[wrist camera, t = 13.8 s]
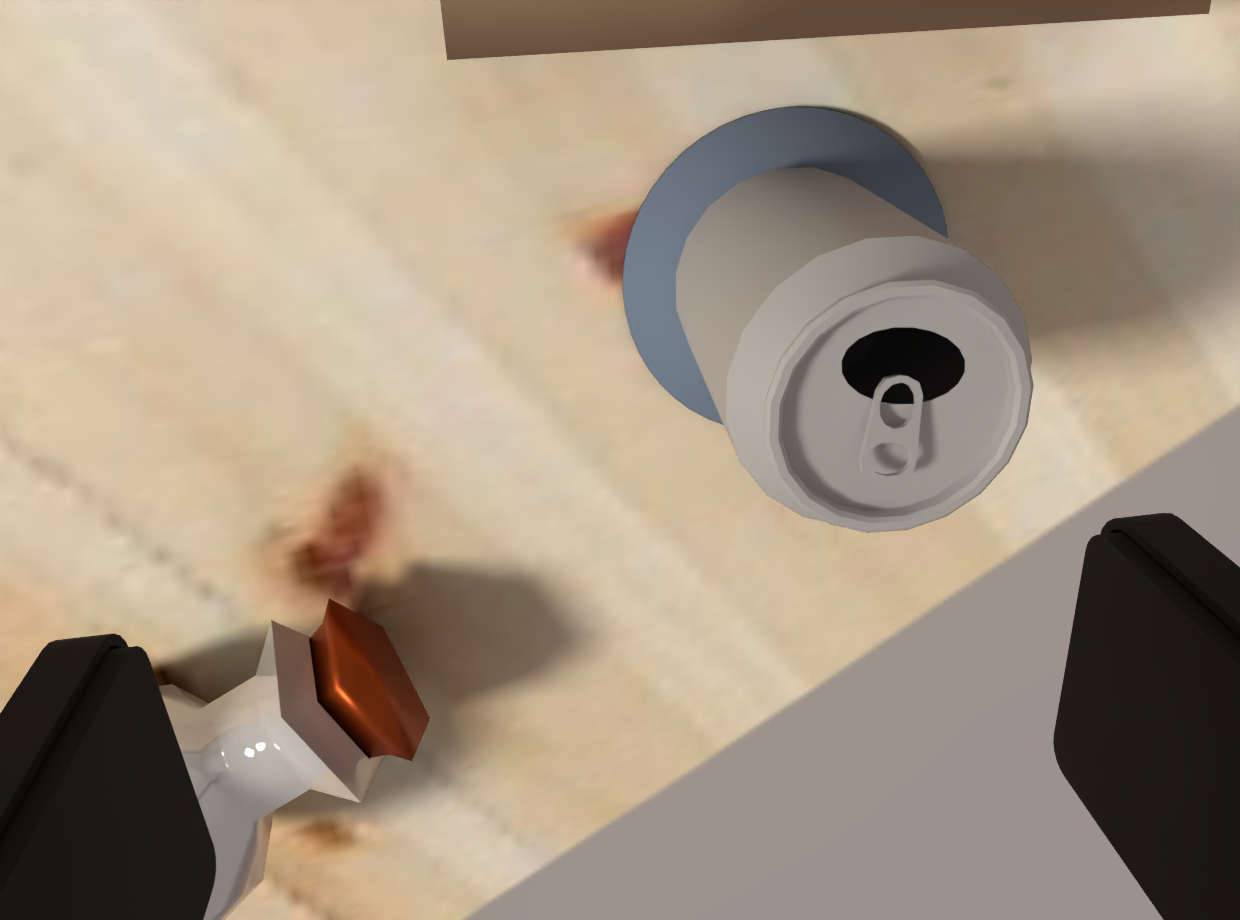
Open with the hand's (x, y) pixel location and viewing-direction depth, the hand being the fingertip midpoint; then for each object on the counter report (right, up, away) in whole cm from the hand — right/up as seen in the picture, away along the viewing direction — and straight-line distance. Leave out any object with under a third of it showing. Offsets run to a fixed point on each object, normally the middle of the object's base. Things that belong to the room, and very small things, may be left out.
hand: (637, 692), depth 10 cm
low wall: (+5, +16, +20) cm, 26 cm away
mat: (+5, +8, +24) cm, 26 cm away
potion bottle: (-15, -7, +29) cm, 34 cm away
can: (+5, +9, +23) cm, 26 cm away
